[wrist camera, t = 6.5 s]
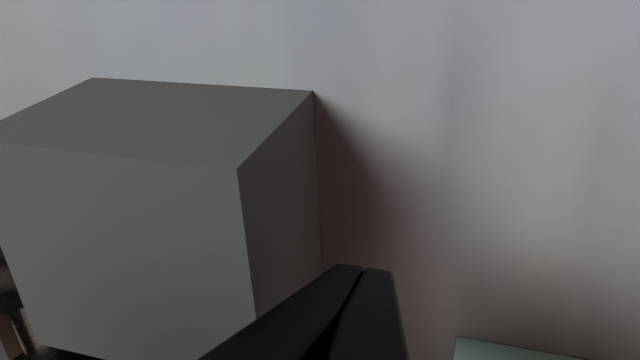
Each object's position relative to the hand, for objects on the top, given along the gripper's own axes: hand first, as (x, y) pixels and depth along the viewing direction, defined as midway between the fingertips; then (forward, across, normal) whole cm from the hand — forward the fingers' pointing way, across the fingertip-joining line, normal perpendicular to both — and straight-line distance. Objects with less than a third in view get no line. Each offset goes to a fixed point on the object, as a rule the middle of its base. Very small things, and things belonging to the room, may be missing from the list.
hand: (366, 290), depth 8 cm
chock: (+3, +4, 0) cm, 5 cm away
